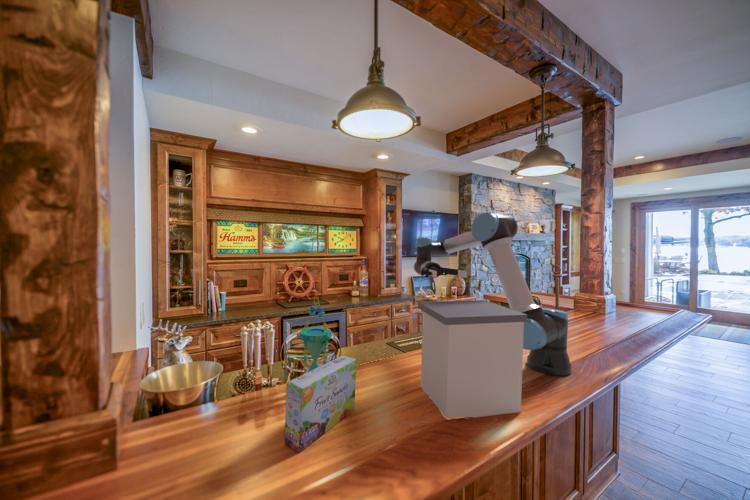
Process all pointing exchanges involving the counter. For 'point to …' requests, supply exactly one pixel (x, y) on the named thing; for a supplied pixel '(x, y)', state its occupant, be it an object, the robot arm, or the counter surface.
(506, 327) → the under-counter cabinet
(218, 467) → the counter surface
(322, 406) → the snack box
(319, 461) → the counter surface
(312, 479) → the counter surface
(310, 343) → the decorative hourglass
